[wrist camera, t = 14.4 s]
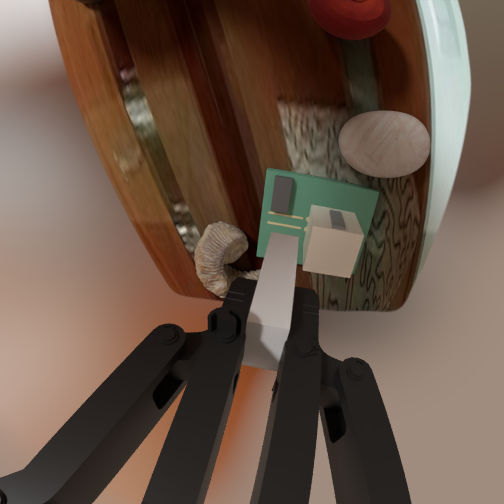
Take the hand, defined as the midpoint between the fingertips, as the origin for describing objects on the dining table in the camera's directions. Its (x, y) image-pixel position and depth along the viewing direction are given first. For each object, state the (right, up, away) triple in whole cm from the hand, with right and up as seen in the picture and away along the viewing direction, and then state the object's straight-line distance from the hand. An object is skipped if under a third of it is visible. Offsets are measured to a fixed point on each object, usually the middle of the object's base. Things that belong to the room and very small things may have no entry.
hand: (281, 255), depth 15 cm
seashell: (-4, +1, +30) cm, 31 cm away
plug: (+9, +4, +24) cm, 26 cm away
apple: (+10, +31, +9) cm, 34 cm away
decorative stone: (+16, +15, +17) cm, 28 cm away
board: (+8, +5, +25) cm, 26 cm away
